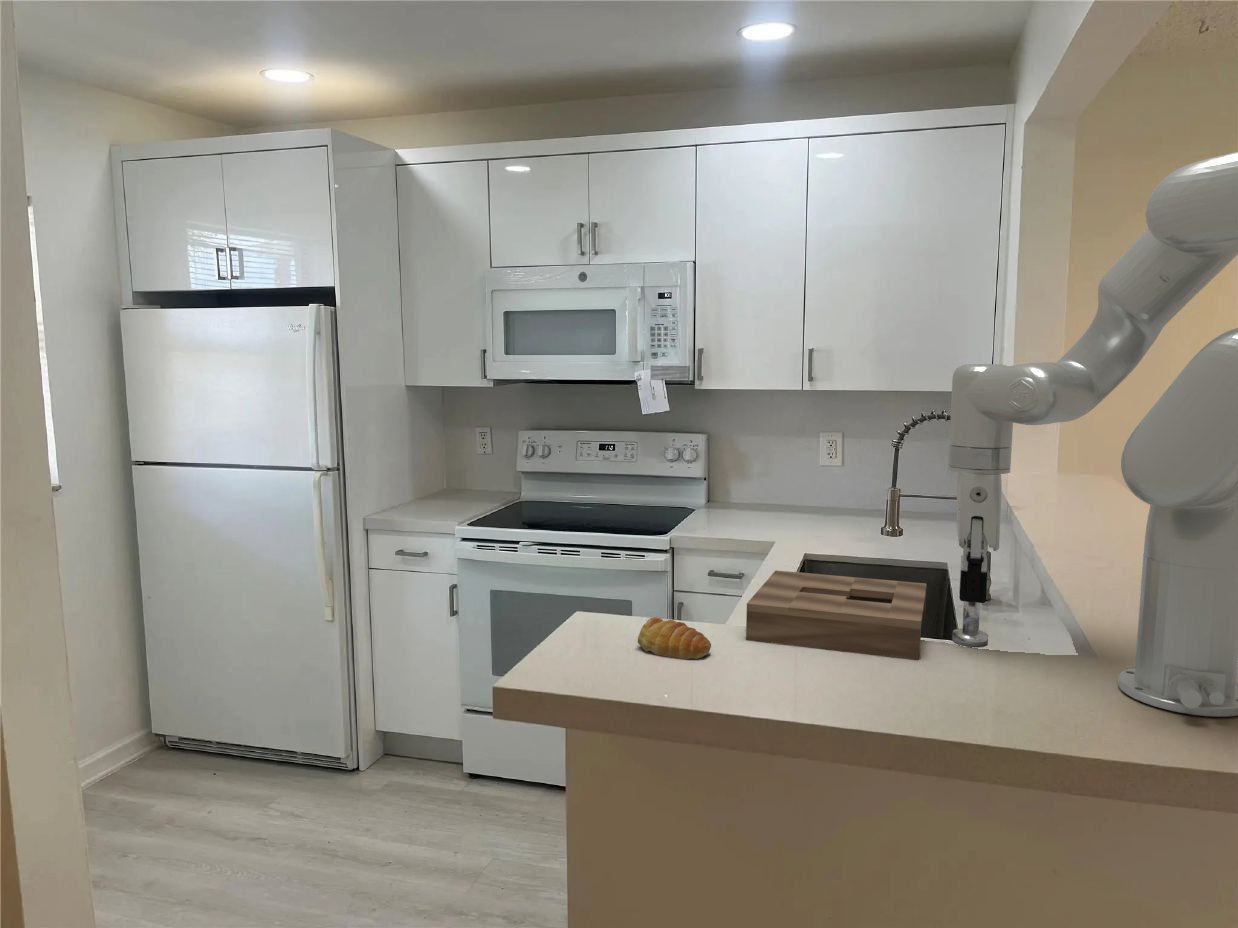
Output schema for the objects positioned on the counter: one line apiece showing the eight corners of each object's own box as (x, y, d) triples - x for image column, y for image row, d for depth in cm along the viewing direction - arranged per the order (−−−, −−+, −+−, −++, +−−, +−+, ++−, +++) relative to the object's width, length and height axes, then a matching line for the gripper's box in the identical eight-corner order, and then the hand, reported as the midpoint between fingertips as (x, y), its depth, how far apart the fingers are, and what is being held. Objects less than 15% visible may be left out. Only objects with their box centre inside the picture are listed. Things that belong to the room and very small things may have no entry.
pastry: (721, 652, 115) (721, 623, 114) (693, 667, 109) (693, 637, 109) (661, 638, 120) (661, 611, 120) (631, 651, 115) (631, 623, 114)
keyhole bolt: (988, 648, 116) (992, 562, 114) (952, 645, 117) (956, 559, 116) (987, 639, 120) (991, 555, 119) (952, 635, 121) (956, 552, 120)
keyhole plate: (919, 659, 111) (921, 621, 111) (745, 639, 119) (746, 603, 119) (925, 616, 130) (926, 583, 129) (774, 601, 138) (775, 570, 137)
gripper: (1014, 468, 107) (1006, 617, 109) (1007, 454, 122) (1000, 585, 124) (947, 465, 109) (940, 611, 112) (949, 452, 125) (943, 580, 127)
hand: (972, 596), depth 118 cm, fingers closed on keyhole bolt, 3 cm apart
